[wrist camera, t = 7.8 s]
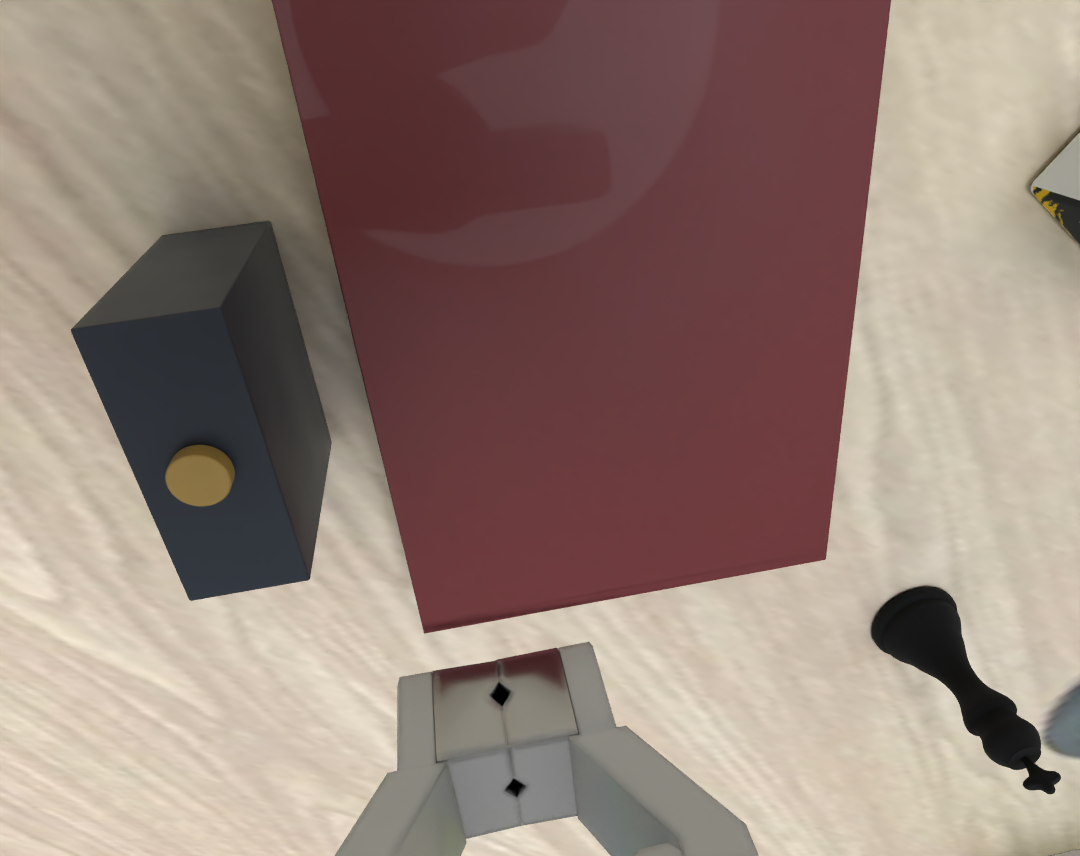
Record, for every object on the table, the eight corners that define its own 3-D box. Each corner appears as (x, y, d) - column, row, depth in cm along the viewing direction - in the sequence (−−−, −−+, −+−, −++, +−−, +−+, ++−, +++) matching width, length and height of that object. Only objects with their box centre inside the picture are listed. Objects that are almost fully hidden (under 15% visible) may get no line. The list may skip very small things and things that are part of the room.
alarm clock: (208, 217, 26) (-42, 312, 20) (382, 226, 23) (151, 341, 17) (276, 432, 31) (89, 565, 24) (430, 463, 28) (262, 627, 21)
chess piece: (949, 638, 41) (1094, 810, 32) (869, 659, 41) (995, 838, 32) (956, 576, 39) (1115, 745, 30) (872, 598, 38) (1007, 773, 30)
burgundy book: (272, -65, 21) (254, -73, 19) (850, -127, 23) (908, -142, 20) (422, 584, 34) (424, 633, 31) (794, 517, 35) (825, 559, 32)
